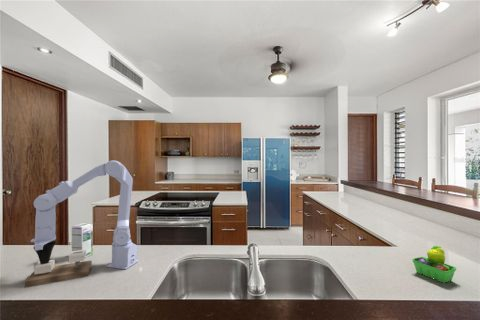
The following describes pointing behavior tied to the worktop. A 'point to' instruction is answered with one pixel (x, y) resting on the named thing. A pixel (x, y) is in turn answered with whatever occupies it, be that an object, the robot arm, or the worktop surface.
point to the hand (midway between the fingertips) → (44, 263)
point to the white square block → (77, 256)
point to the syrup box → (83, 238)
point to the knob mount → (60, 273)
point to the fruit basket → (434, 265)
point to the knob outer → (44, 267)
